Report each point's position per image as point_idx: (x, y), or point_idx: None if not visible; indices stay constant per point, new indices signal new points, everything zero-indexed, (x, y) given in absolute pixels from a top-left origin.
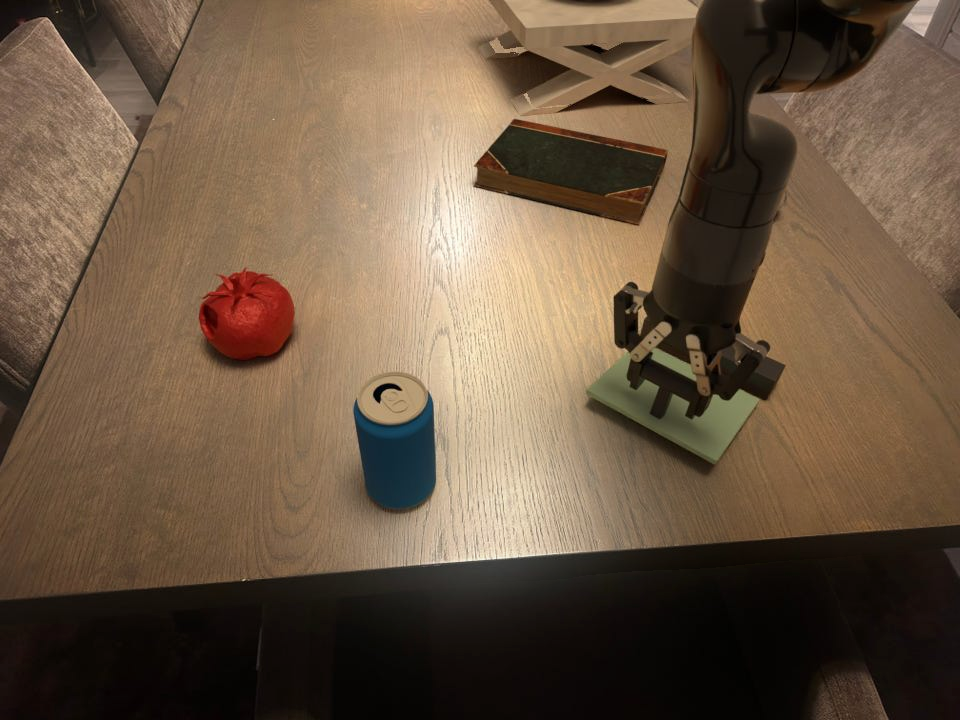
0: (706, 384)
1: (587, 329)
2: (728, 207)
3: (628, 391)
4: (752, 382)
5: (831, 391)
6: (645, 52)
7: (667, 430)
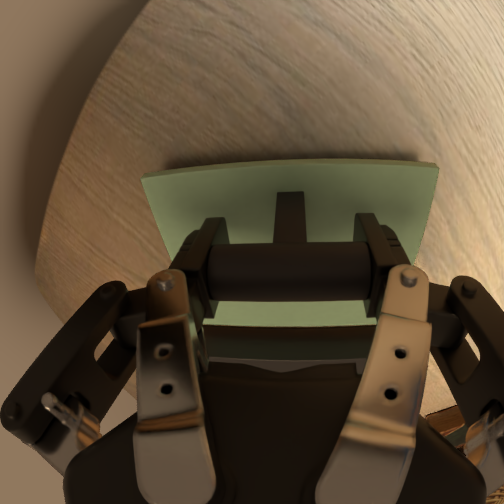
0: (155, 299)
1: None
2: None
3: None
4: (218, 341)
5: None
6: None
7: (247, 175)
